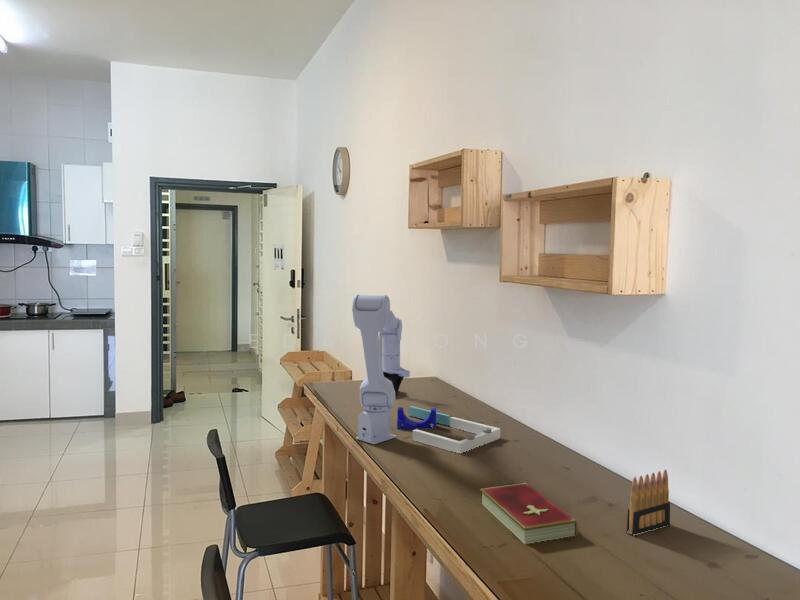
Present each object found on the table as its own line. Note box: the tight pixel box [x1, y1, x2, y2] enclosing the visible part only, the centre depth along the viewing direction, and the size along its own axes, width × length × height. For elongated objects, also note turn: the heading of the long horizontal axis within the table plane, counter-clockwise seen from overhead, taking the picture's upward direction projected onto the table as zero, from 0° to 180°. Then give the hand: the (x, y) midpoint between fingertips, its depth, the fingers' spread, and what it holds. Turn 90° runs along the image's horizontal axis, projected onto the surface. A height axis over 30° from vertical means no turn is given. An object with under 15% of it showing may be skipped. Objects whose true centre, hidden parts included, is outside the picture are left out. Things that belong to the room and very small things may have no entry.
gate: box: [407, 405, 451, 426], centre depth 213 cm, size 17×1×3 cm, turn 46°
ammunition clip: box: [626, 469, 671, 534], centre depth 135 cm, size 11×2×12 cm, turn 118°
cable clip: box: [396, 407, 437, 430], centre depth 206 cm, size 12×4×6 cm, turn 85°
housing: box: [412, 416, 501, 455], centre depth 194 cm, size 19×18×4 cm
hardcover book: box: [479, 482, 579, 545], centre depth 140 cm, size 12×21×4 cm, turn 17°
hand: (391, 396), depth 212 cm, fingers closed
